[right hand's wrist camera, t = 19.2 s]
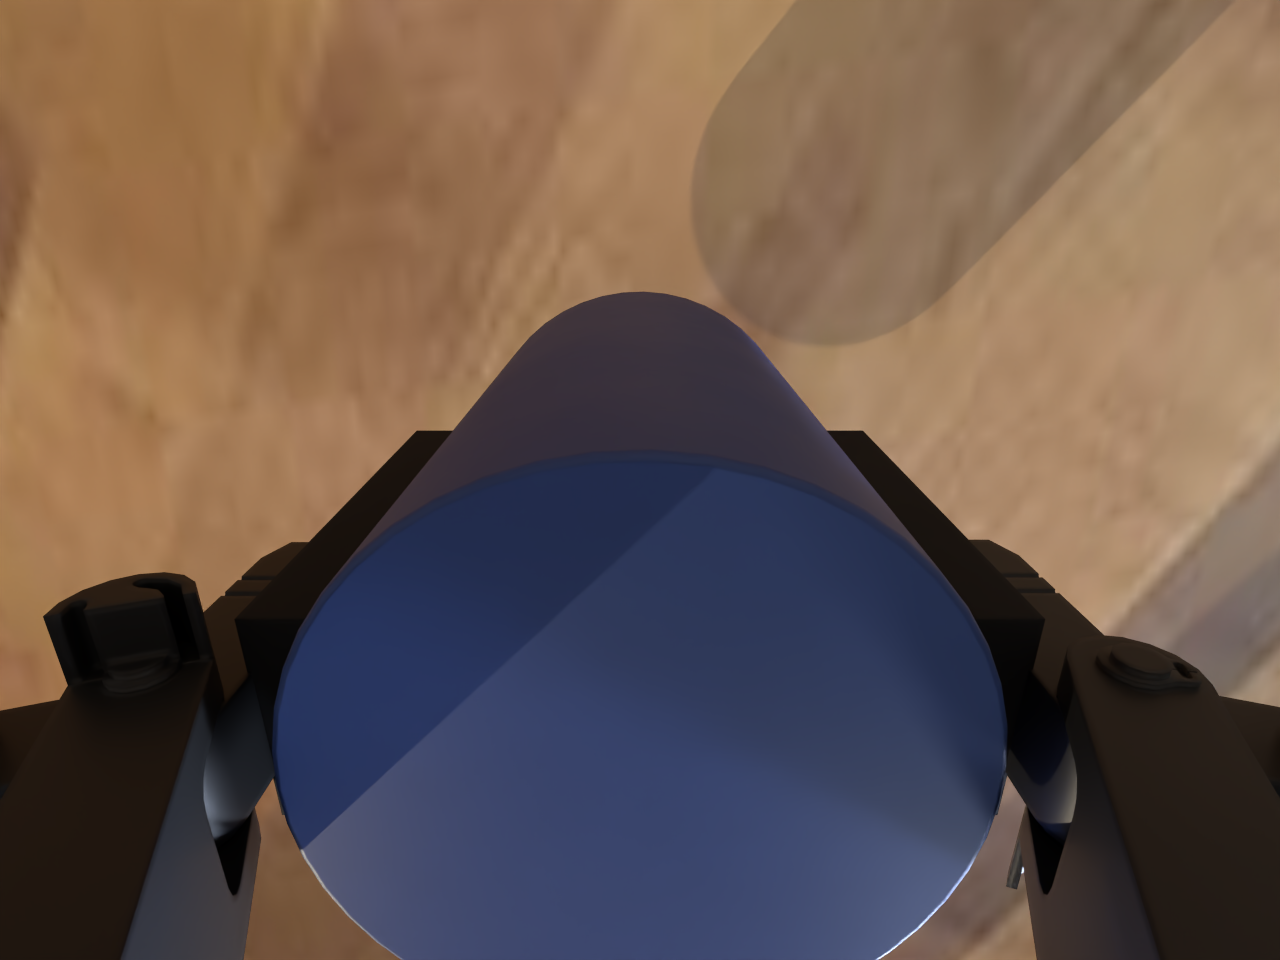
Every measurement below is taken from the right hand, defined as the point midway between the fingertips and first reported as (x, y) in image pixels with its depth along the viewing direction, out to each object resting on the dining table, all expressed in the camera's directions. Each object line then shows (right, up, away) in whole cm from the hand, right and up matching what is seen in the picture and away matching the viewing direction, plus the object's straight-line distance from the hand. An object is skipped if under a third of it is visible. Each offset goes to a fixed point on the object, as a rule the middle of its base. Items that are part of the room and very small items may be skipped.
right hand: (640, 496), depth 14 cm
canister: (0, +1, +3) cm, 3 cm away
